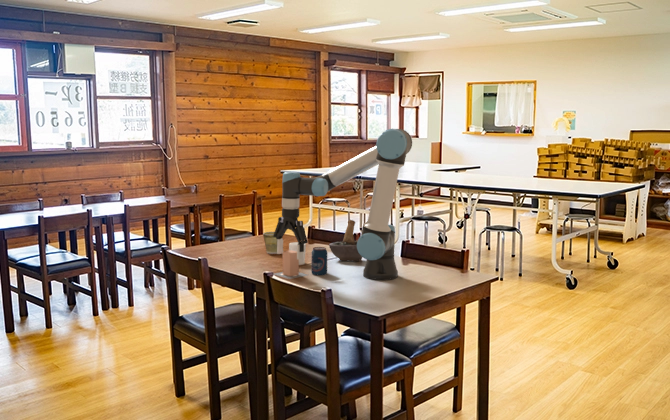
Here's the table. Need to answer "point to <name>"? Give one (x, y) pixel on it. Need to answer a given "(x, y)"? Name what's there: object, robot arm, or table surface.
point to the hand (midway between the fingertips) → (289, 256)
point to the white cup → (294, 248)
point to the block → (290, 263)
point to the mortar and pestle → (346, 246)
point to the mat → (290, 276)
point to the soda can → (319, 261)
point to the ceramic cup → (270, 242)
